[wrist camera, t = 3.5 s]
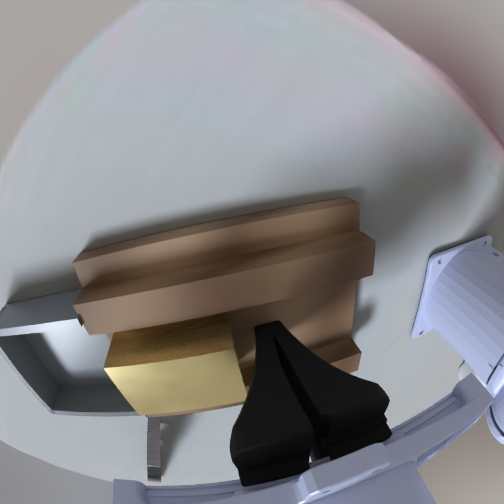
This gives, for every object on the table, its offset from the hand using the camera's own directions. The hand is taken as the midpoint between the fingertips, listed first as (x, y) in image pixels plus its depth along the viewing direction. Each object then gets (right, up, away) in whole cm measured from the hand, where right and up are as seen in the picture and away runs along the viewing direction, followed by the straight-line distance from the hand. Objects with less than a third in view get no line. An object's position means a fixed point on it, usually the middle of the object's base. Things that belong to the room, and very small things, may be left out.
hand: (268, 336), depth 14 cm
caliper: (-11, -17, +8) cm, 22 cm away
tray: (-13, -2, 0) cm, 13 cm away
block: (-5, -1, 0) cm, 5 cm away
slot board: (-2, 0, +2) cm, 2 cm away
